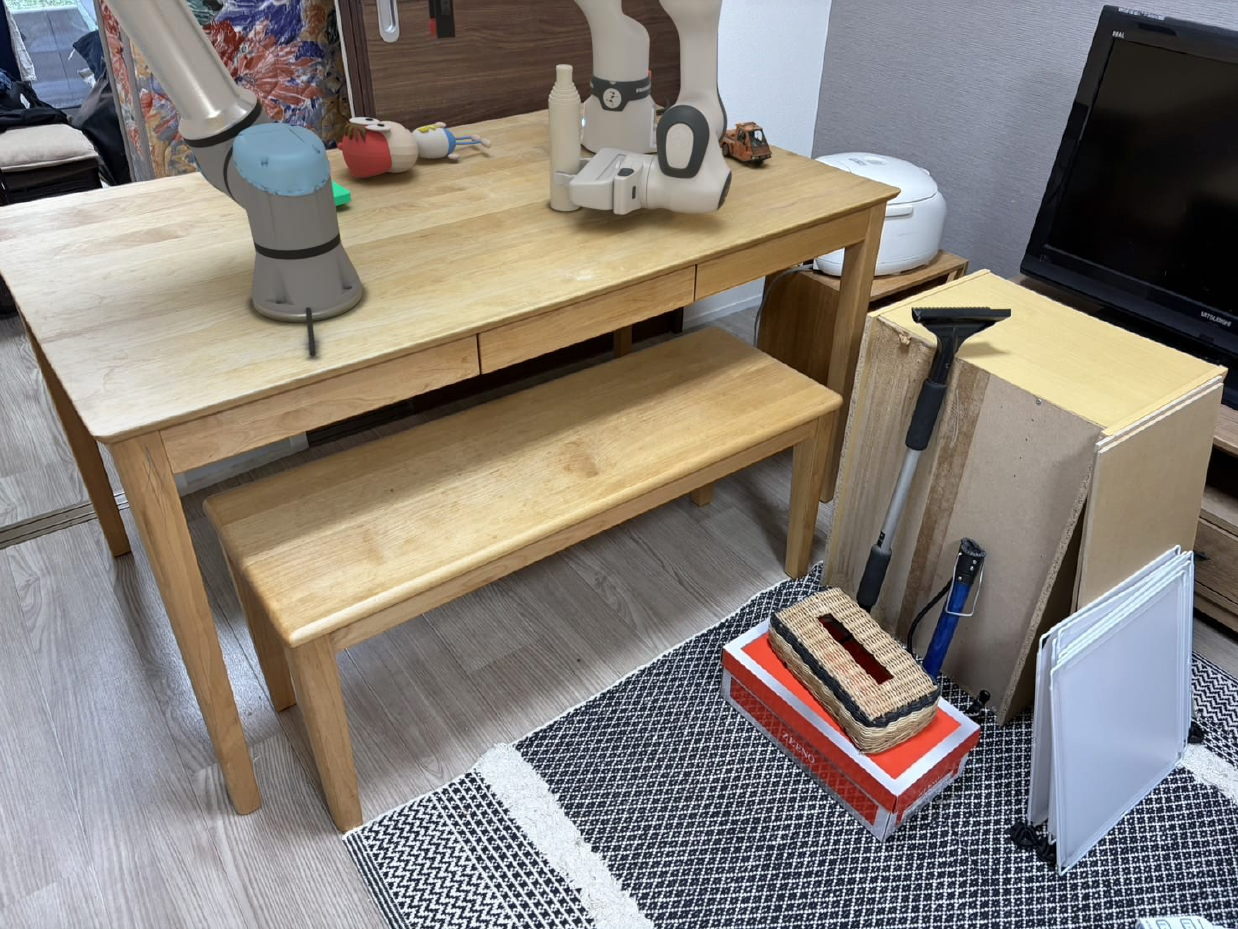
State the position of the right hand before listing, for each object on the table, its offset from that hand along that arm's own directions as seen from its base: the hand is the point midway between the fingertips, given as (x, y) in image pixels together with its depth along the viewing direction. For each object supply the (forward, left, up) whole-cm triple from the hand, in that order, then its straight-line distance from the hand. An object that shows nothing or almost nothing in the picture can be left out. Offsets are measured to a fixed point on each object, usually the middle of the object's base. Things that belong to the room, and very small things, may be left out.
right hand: (560, 170), depth 162 cm
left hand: (+11, -15, +23) cm, 30 cm away
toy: (-11, -33, -6) cm, 35 cm away
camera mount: (+14, -41, -6) cm, 43 cm away
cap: (+11, -15, +25) cm, 31 cm away
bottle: (0, +1, -6) cm, 6 cm away
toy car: (-36, +27, -6) cm, 45 cm away
